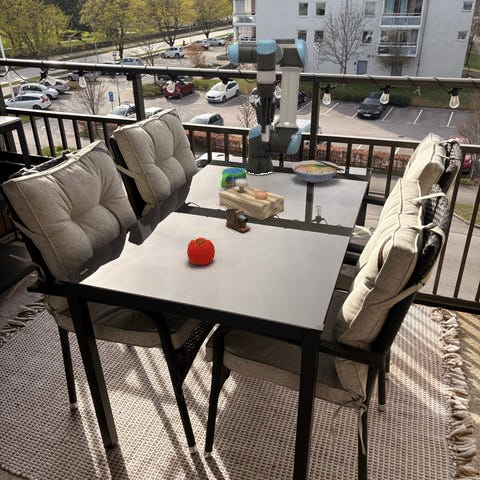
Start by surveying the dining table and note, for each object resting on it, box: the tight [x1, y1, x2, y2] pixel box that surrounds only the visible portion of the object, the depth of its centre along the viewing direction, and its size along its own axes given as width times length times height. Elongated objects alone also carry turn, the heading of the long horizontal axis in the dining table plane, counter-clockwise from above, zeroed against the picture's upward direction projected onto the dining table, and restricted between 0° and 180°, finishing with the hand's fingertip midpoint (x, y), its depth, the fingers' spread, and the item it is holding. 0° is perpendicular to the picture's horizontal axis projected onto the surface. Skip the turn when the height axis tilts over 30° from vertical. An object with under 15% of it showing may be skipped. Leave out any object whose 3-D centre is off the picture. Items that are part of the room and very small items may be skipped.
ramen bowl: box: [291, 158, 345, 184], centre depth 226 cm, size 25×23×8 cm
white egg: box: [235, 179, 249, 193], centre depth 196 cm, size 5×5×6 cm
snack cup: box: [220, 167, 248, 190], centre depth 212 cm, size 16×10×10 cm
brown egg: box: [255, 189, 268, 199], centre depth 190 cm, size 5×5×6 cm
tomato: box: [186, 237, 216, 266], centre depth 150 cm, size 9×9×8 cm
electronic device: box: [225, 208, 252, 234], centre depth 175 cm, size 4×10×8 cm, turn 44°
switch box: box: [219, 185, 285, 221], centre depth 194 cm, size 14×24×6 cm, turn 46°
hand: (265, 140), depth 194 cm, fingers closed
